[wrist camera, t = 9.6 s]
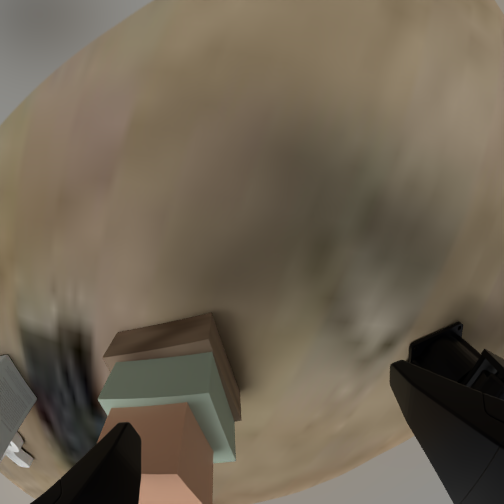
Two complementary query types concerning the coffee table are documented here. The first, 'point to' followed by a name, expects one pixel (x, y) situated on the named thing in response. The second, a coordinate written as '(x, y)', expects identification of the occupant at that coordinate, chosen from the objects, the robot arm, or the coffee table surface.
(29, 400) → the small box
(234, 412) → the walnut base block
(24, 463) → the joystick
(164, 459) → the terracotta cube
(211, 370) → the sage top block
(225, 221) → the coffee table surface
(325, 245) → the coffee table surface
